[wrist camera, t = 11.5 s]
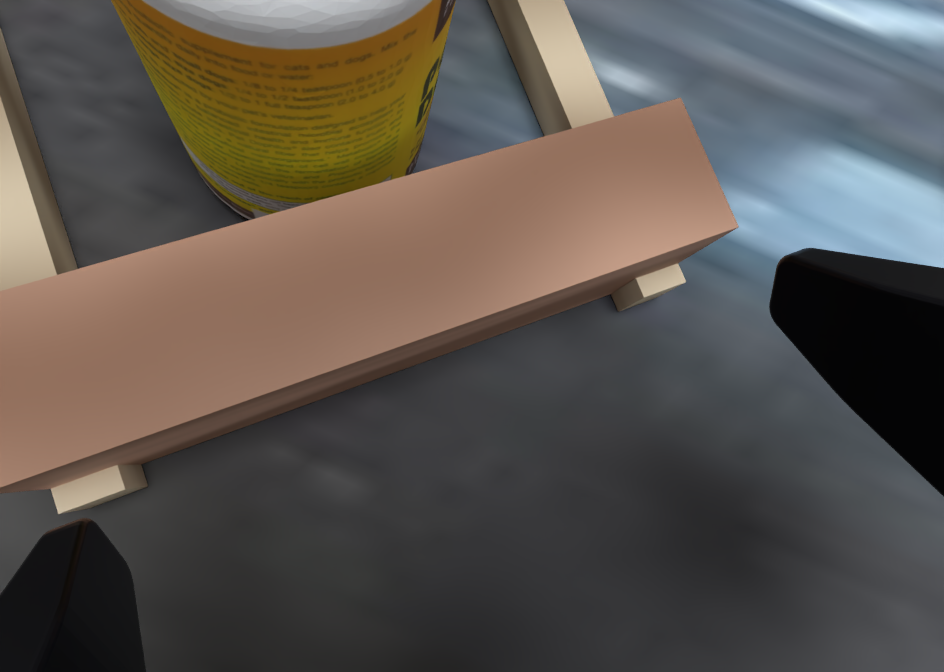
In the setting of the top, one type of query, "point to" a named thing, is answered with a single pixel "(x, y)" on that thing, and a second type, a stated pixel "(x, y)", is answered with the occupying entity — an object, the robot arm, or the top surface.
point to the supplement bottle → (293, 90)
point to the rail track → (331, 276)
